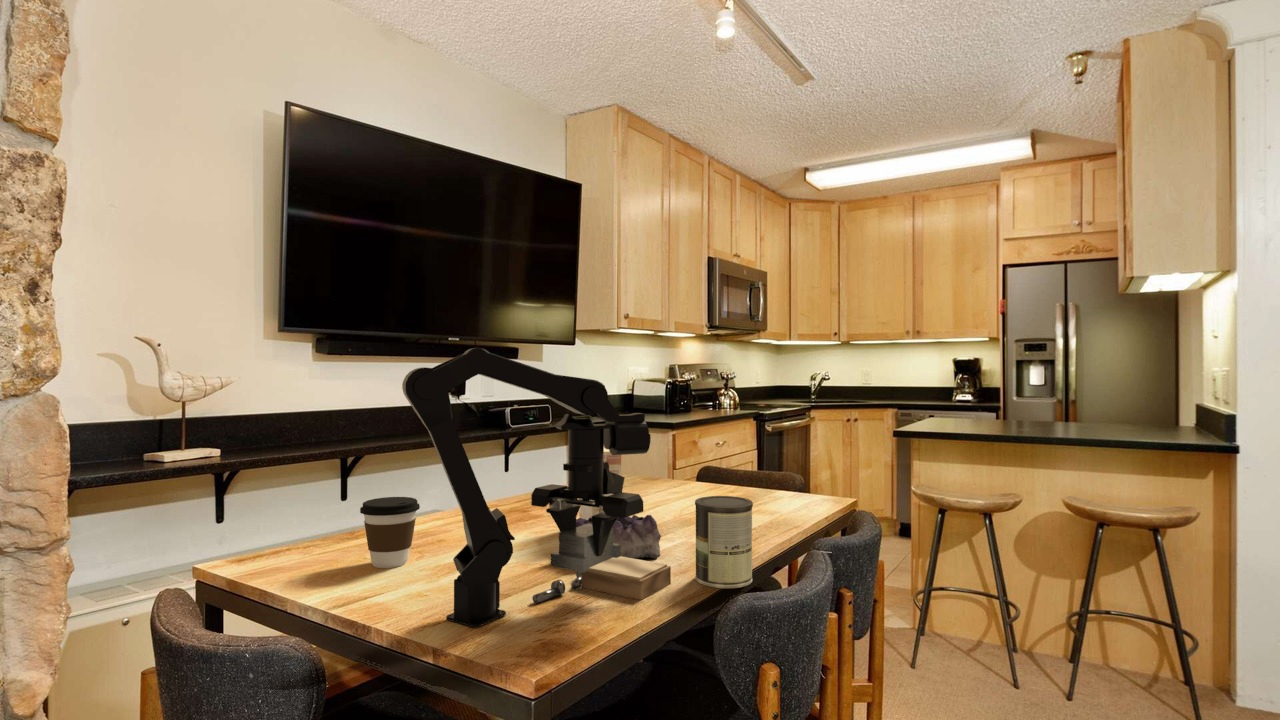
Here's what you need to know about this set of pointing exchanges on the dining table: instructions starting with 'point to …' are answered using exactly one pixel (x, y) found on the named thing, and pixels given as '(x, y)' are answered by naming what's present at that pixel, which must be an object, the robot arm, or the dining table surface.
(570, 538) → the block
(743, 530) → the coffee can
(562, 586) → the bolt
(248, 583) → the dining table surface
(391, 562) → the coffee cup
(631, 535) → the geode
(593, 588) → the stand
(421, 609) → the dining table surface
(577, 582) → the bolt
